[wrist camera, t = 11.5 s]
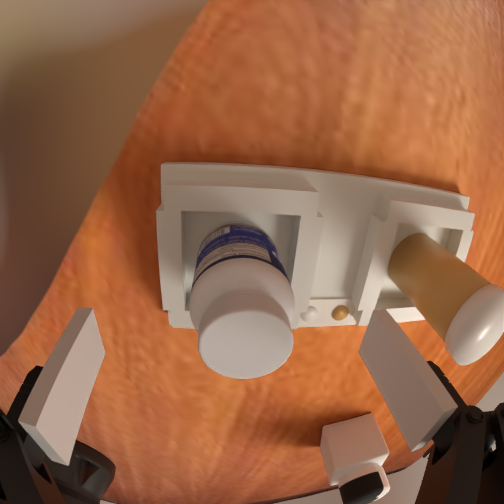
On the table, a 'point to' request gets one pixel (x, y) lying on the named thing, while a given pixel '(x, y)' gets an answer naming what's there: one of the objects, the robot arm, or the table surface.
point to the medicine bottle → (355, 459)
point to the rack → (337, 247)
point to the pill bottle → (241, 302)
